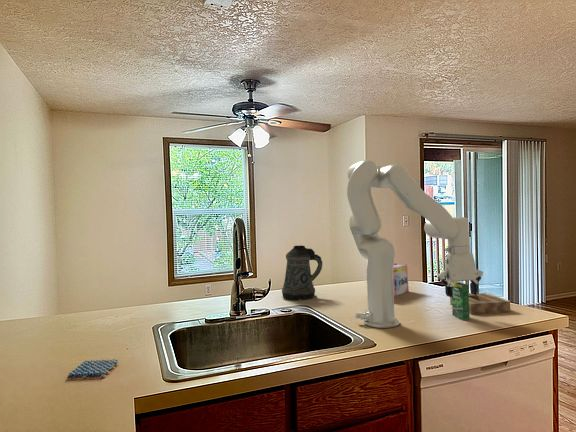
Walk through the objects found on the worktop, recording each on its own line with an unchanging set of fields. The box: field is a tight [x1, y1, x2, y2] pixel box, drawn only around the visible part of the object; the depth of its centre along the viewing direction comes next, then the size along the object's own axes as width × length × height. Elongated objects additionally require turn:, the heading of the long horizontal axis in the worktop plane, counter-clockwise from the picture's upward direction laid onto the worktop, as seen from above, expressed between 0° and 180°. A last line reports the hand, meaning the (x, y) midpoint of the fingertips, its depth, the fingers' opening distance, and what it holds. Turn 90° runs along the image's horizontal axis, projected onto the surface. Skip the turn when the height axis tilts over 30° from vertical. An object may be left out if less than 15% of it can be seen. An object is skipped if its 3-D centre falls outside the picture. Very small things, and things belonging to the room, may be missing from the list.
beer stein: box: [281, 245, 323, 301], centre depth 193 cm, size 16×19×25 cm
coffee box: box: [450, 281, 470, 321], centre depth 148 cm, size 8×3×13 cm, turn 6°
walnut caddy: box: [449, 292, 511, 315], centre depth 160 cm, size 16×16×4 cm
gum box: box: [393, 263, 410, 297], centre depth 191 cm, size 24×8×14 cm, turn 135°
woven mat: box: [66, 358, 119, 381], centre depth 109 cm, size 10×11×2 cm
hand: (461, 295), depth 148 cm, fingers open, 9 cm apart
